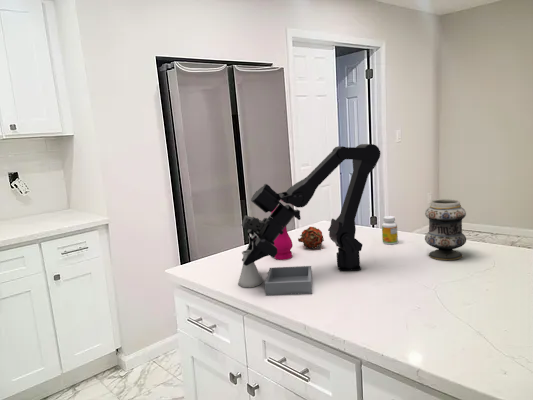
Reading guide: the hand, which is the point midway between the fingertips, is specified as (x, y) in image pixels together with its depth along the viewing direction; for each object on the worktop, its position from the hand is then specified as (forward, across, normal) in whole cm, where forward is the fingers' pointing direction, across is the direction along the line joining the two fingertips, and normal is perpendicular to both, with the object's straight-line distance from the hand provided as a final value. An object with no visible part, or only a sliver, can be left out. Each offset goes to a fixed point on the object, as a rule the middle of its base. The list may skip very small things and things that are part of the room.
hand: (243, 263), depth 117 cm
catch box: (-4, +6, +13) cm, 15 cm away
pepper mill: (-7, -20, +16) cm, 27 cm away
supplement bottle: (-36, -19, +45) cm, 60 cm away
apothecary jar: (-41, +3, +51) cm, 65 cm away
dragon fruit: (-16, -28, +26) cm, 41 cm away
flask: (+4, 0, +6) cm, 7 cm away
